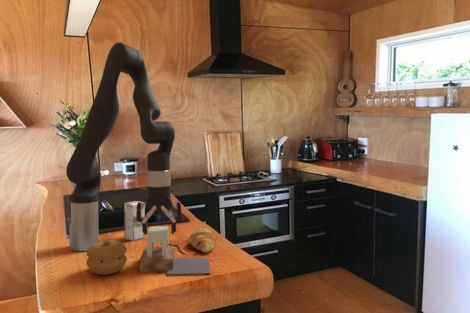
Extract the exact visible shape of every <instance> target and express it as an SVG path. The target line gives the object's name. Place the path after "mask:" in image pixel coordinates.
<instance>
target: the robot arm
mask: <svg viewBox="0 0 470 313" xmlns="http://www.w3.org/2000/svg"><path fill="white" fill-rule="evenodd" d="M102 72H103V73H102V76H101V80H100V83H99V85H98V88H97V91H96V94H95V97H94V99H93V101H92V104H91V107H90V110H89V111H88V114H87V117H86V121H85V123H84V126H83V129H82V131H81V134H80V137H79V139H78V142H77V145H76V147H75V148H74V151H73V153H72V155H71V156H70V158H69V160H68V163H67V165H66V170H65V172H66V173H65V174H66V177H67V178H68V181H70V182H71V183H72V184H75V188H74V190H73V191H72V192H71V194H70V219H71V220H70V223H69V224H68V225H69V226H68V227H69V230H68V232H69V251H75V252H87V250H88V249H89V247H90V246H91V245H93V244H94V243H96V242H99V241H100V240H99V236H100V234H99V195H100V191H101V175H102V174H101V166H100V163H99V161H98V160H97V159H96V156H97V153H98V152H99V149H100V147H101V145H102V144H103V143H104V142H105V141H106V139H107V138H108V136H109V135H110V133H111V132H112V130H113V128H114V127H115V124H116V121H117V119H118V116H119V113H120V103H119V96H118V89H117V88H118V81H119V79H120V74H121V73H122V74H125V75H128V77H129V78H130V79H131V81H133V84H134V89H133V93H132V101H133V105H134V107H135V110H136V112H137V114H138V116H139V127H140V136H141V138H142V140H143V141H144V142H145V143H147V145H148V144H149V145H158V144H159V145H158V148H157V149H156V150H153V151H150V152H148V153H147V157H146V164H147V166H146V167H147V171H146V172H147V174H146V202H143V203H141V202H142V201H140V202H138V203H137V213H136V221H137V222H141V223H142V232H143V233H144V236H147V233H148V222H147V221H148V220H149V219H150V217H151V216H153V217H157V216H161V217H164V216H167V218H168V219H169V220H170V221H171V223H170V225H171V230H170V231H171V235H174V233H176V232H177V222H179V221H182V218H183V217H182V216H183V215H182V204H181V203H182V202H181V201H180V200H177V201H172V191H171V190H172V188H171V186H172V184H171V183H172V179H171V178H172V177H171V170H170V168H171V166H170V162H171V161H170V160H171V159H170V157H171V153H172V148H173V145H174V143H175V142H174V141H175V139H176V138H175V137H176V133H175V132H176V131H175V127H174V125H173V124H172V123H171V122H169V121H156V120H158V119H159V118H160V116H161V109H160V106H159V104H158V102H157V100H156V97H155V94H154V92H153V90H152V87H151V83H150V79H149V75H148V70H147V67H146V62H145V59H144V56H143V54H142V53H141V51H139V50H138V49H135V48H134V47H131V46H130V45H128V44H125V43H124V42H116V43H114V44H113V45H112V46H111V48H110V49H109V51H108V54H107V57H106V60H105V64H104V68H103V71H102ZM144 206H145V209H147V210H148V212H147V213H146V214H145V217H144V218H142V217H141V210H142V209H143V208H144ZM172 206H173V207H174V209H175V210H176V212H177V216H175V215H174V214H173V212H172V211H171V210H170V209H171V208H172Z"/></svg>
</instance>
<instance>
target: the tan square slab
mask: <svg viewBox="0 0 470 313" xmlns="http://www.w3.org/2000/svg"><path fill="white" fill-rule="evenodd" d="M175 249H176V247H175V246H168V250H167V257H162V246H154V250H152V257H147V246H144V248H143V250H142V253H141V255H140V258H139V272H140V273H143V272H144V273H151V272H153V273H154V272H155V273H156V272H160V273H161V272H167V271H168V269H173V264H174V259H176V256H175V255H176V253H175V251H176V250H175Z"/></svg>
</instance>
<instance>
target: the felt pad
mask: <svg viewBox="0 0 470 313" xmlns="http://www.w3.org/2000/svg"><path fill="white" fill-rule="evenodd" d="M210 268H211V267H210V258H209V257H206V258H205V257H203V258H200V257H198V258H196V257H195V258H194V257H193V258H175V259H174V264H173V269H168V271H166V276H167V277H168V276H170V277H171V276H205V275H204V274H210V275H211V269H210Z"/></svg>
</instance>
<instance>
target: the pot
mask: <svg viewBox="0 0 470 313" xmlns="http://www.w3.org/2000/svg"><path fill="white" fill-rule="evenodd" d="M126 253H127V247H126V245H125V244H124V243H122V242H121V241H120V240H119V241H118V240H116V239H115V240H112V239H111V240H109V239H104V240H99V242H96V243H94V244H93V245H91V246H90V247H89V249H88V250H87V251H86V256H87V257H88V259H86V266H87V267H88V269H89V270H90V271H91V272H92V273H94V274H96V275H103V276H104V275H105V276H107V275H114V274H116V273H118V272H119V271H121V270H122V269H123V268H124V267H125V265H126V262H127V259H128V258H127V255H126Z"/></svg>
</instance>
